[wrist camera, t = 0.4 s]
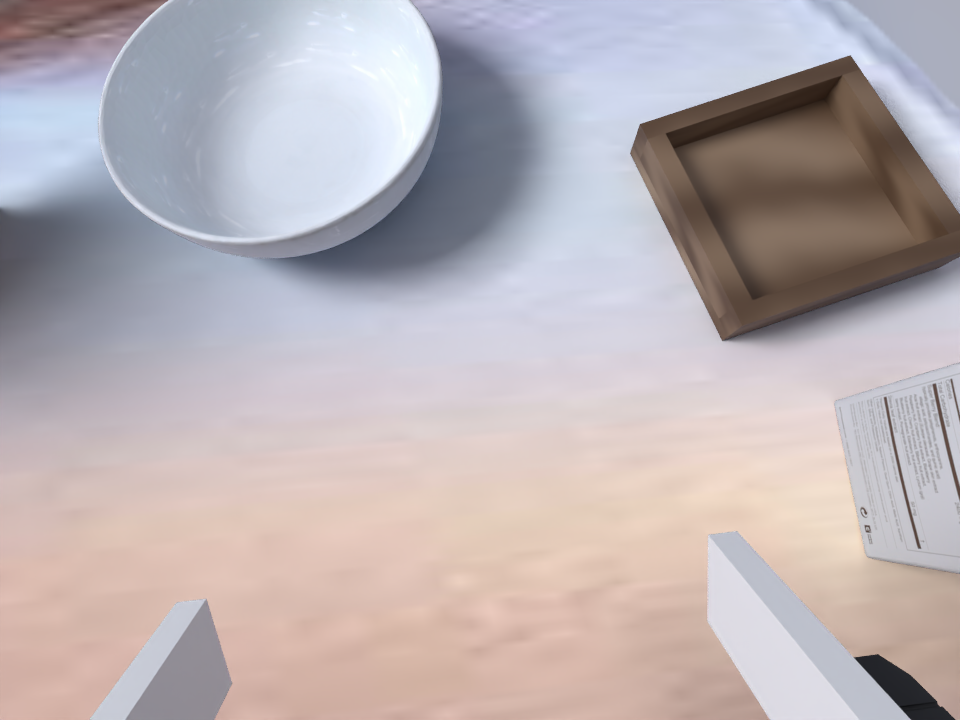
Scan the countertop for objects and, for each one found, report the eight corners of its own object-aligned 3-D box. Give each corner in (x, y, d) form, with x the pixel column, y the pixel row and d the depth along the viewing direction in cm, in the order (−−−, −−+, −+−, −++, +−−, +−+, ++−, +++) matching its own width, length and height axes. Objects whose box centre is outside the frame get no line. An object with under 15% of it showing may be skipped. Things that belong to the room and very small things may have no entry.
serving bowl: (403, 324, 33) (374, 280, 26) (124, 254, 35) (34, 198, 29) (488, 69, 38) (483, -23, 31) (238, 25, 40) (184, -67, 34)
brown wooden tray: (940, 266, 31) (980, 245, 28) (722, 340, 31) (742, 325, 28) (824, 89, 35) (850, 55, 32) (630, 153, 35) (639, 124, 32)
